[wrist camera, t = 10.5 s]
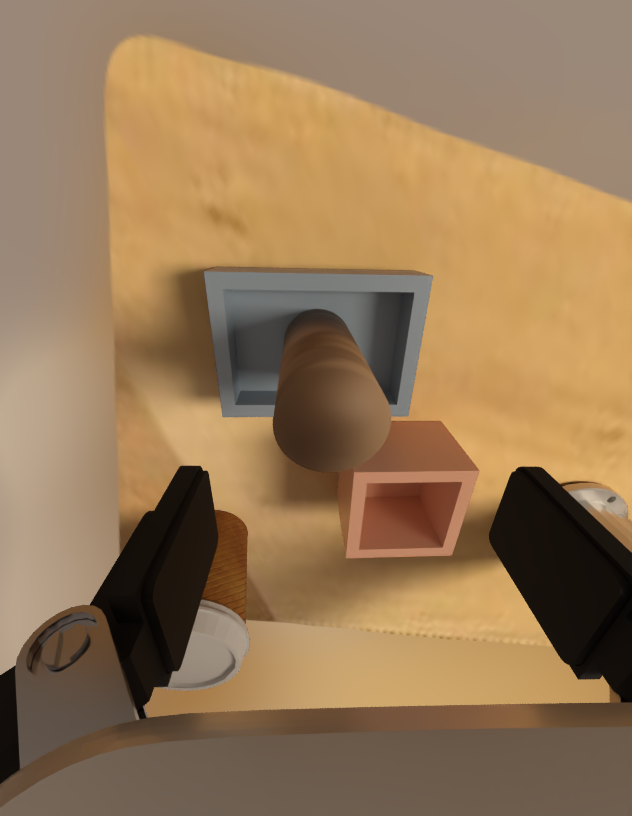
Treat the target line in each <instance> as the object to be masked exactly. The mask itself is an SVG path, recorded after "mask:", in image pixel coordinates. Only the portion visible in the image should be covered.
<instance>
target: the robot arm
mask: <svg viewBox="0 0 632 816" xmlns="http://www.w3.org/2000/svg"><path fill="white" fill-rule="evenodd" d="M489 540H490V543H491V545H492V547H493V549H494V550H495V552H496V554H497V555H498V557H499V559H500V560H501V562H502V564H503V565H504V567H505V568H506V570H507V572H508V573H509V575H510V577H511V578H512V580H513V582H514V583H515V585H516V586H517V588H518V590H519V591H520V593H521V595H522V596H523V598H524V599H525V601H526V603H527V604H528V606H529V608H530V609H531V611H532V613H533V614H534V616H535V617H536V619H537V621H538V622H539V624H540V626H541V627H542V629H543V631H544V632H545V634H546V635H547V637H548V639H549V640H550V642H551V644H552V645H553V647H554V648H555V650H556V652H557V653H558V655H559V656H560V658H561V659H562V660H563V661H564V662H565V663H566V664H568V665H570V667H571V669H572V670H573V672H574V673H575V675H576V677H577V678H578V679H600V678H601V677H602V675H603V677H604V678H605V680H606V681H607V683H608V684H609V689H610V703H566V704H565V703H559V704H498V705H497V704H496V705H449V706H448V705H447V706H399V707H357V708H320V709H281V710H251V711H230V712H209V713H189V714H179V715H169V716H160V717H151V718H148V715H147V712H146V709H145V706H144V705H145V704H146V703H147V702H149V700H150V697H151V695H152V692H153V689H154V687H168V685H169V682H170V679H171V676H172V672H173V671H179V669H180V668H181V665H182V662H183V659H184V656H185V653H186V649H187V646H188V643H189V639H190V636H191V632H192V629H193V626H194V622H195V619H196V616H197V612H198V609H199V606H200V602H201V599H202V596H203V592H204V589H205V586H206V582H207V579H208V576H209V572H210V569H211V566H212V562H213V559H214V556H215V552H216V549H217V545H218V529H217V523H216V516H215V510H214V504H213V498H212V492H211V485H210V479H209V474H208V471H203V470H202V467H201V466H180V467H179V469H178V470H177V472H176V474H175V476H174V477H173V479H172V481H171V482H170V484H169V486H168V488H167V489H166V491H165V493H164V495H163V496H162V498H161V500H160V502H159V503H158V505H157V507H156V508H155V510H154V511H149V512H147V513H146V514H145V515H144V516H143V518H142V519H141V521H140V523H139V524H138V526H137V527H136V529H135V531H134V532H133V534H132V536H131V537H130V539H129V541H128V542H127V544H126V546H125V547H124V549H123V551H122V552H121V554H120V556H119V557H118V559H117V561H116V562H115V564H114V566H113V567H112V569H111V570H110V572H109V574H108V575H107V577H106V579H105V580H104V582H103V584H102V585H101V587H100V589H99V590H98V592H97V594H96V595H95V597H94V599H93V601H92V602H91V604H90V605H81V606H76V607H71V608H69V609H67V610H65V611H62V612H60V613H58V614H56V615H55V616H53V617H52V618H50V619H49V620H47V621H46V622H45V623H43V624H42V625H41V626H40V627H39V628H38V629H37V630H36V631H35V632H33V634H32V635H31V636H30V637H29V639H28V640H27V641H26V643H25V644H24V645H23V647H22V649H21V651H20V653H19V655H18V657H17V662H16V666H14V667H13V668H11V669H9V670H8V671H6V672H5V673H3V674H2V675H0V816H632V521H631V520H630V519H628V506H627V504H626V502H625V500H624V499H623V498H622V497H621V496H620V495H619V494H617V493H616V492H615V491H613V490H612V489H611V488H609V487H607V486H604V485H601V484H596V483H576V484H569V485H565V486H561V485H560V484H559V483H558V482H557V481H556V480H555V479H554V478H553V477H551V476H550V475H549V474H548V473H547V472H546V471H545V470H544V469H543V468H541V467H518V468H517V469H516V471H515V472H512V473H511V475H510V478H509V480H508V483H507V486H506V489H505V491H504V494H503V497H502V500H501V502H500V505H499V508H498V510H497V513H496V516H495V519H494V521H493V524H492V527H491V530H490V532H489Z"/></svg>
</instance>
